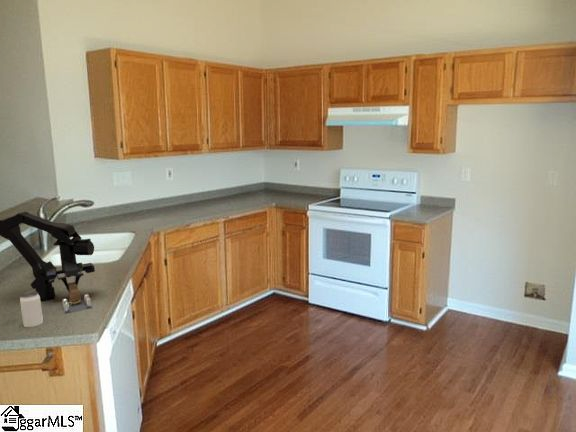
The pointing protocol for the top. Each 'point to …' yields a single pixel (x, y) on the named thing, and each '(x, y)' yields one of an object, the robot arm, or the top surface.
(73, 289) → the brown rectangular block
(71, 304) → the yellow-brown curved piece
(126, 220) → the top surface
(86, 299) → the pair of rounded blocks
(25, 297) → the can
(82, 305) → the mat
